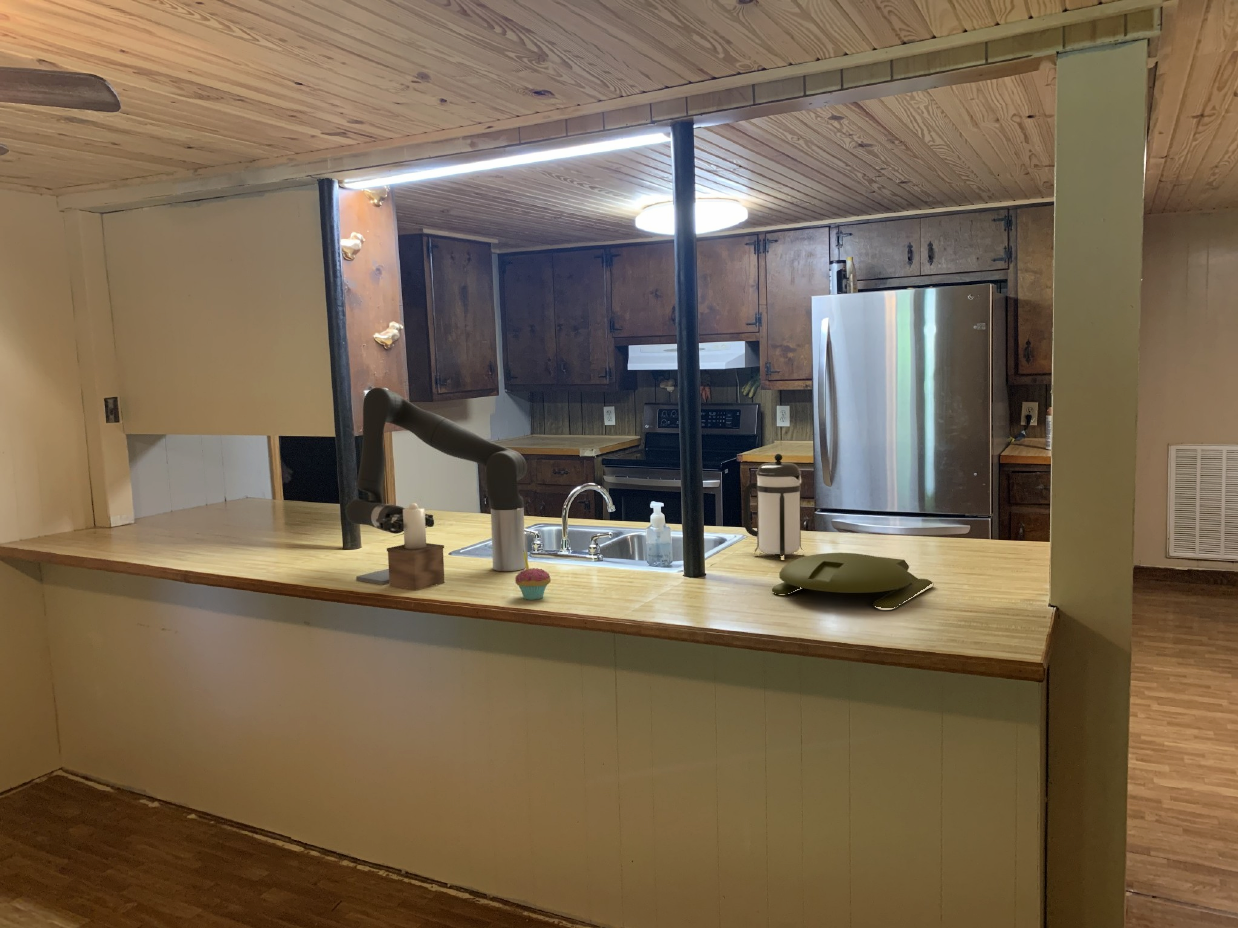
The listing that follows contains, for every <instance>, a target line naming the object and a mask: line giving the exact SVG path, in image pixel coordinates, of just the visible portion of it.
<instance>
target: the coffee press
mask: <svg viewBox="0 0 1238 928" xmlns="http://www.w3.org/2000/svg"><path fill="white" fill-rule="evenodd" d="M774 460H775V462H772V461H771V462H764V463H762V464H761V465H759V466H758V469H757V471H755V474H756V477H757V482H752V483H749V484H748V485H746V487H745V489H744V492H743V496H742V497H743V500H742V501H743V502H742V504H743V505H742V506H743V509H742V511H743V512H742V513H743V525H744V528H745V531H746V532H747V533H748V534H749V535H750V536H752V537H756V548H755V549H754V551H755V553H756V552H757V550H759V551H760V552H763V553H762V554H767V555H775V554H780V556H783V555H785V556H786V555H792V554H795V553H794V552H799V550H800V549H801V550H803V549H802V540H801V537H802V536H801V534H802V533H801V532H802V531H801V530H802V529H801V525H802V524H801V521H802V520H801V519H802V518H801V517H802V515H801V506H802V505H801V500H802V498H801V484H802V477H801V475H802V471H801V470H800V469H799V466H798V465H796V464H795V463H793V462H785V461H782V460H783V455H782V454H780V453H777V454H775V455H774ZM754 489H755V490H756V525H757V526H756V530H755V529H754V528H753V527H752V524H751V494H752V491H753V490H754ZM791 553H792V554H791ZM780 556H779V557H780Z"/></svg>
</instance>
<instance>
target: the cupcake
mask: <svg viewBox="0 0 1238 928" xmlns="http://www.w3.org/2000/svg"><path fill="white" fill-rule="evenodd" d="M523 551H524V549H523ZM523 554H524V559H525V565H526V567H525V569H522V571H521V570H520V571H519V572H518V573H517V575H516V576H515V580H514V581H515V584H516V585H517V586H518V587H519V589H520V591H521V594H522V597H523V599H524V600H531V601H532V600H539V599H542V598H543V597H544V595H545V591H546V587H547V586H548V585H549V584H551V581H552V579H551V576H550V573H548V572H547V571H546V570H544V569H542V568H538V567H537V568H530V567H529V562H528V561H527V556H526V552H524V553H523Z"/></svg>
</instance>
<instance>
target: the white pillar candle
mask: <svg viewBox="0 0 1238 928" xmlns="http://www.w3.org/2000/svg"><path fill="white" fill-rule="evenodd" d="M404 508H405V507H404ZM425 514H426V508H425V507H419V505H418V503H416V502H412V503H410V504H409V506H408V507H407V508H405V509H403V526H404V531H403V540H404V541H403V545H404V547H405V548H407V549H418V548H424V547H426V543H427V534H426V533H427V531H426V530H427V529H426V528H427V526H425Z"/></svg>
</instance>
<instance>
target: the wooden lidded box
mask: <svg viewBox="0 0 1238 928" xmlns="http://www.w3.org/2000/svg"><path fill="white" fill-rule="evenodd" d="M444 549H445V545H443V544H437V543H429V542H426V547H424V548H418V549H407V548H405V547H404V544H400V545H396V546H392V547H387V548H386V552H387V561H388V563H387V564H388V569H389V583H388V585H389V587H394V588H400V589H406V590H411V591H419V590H423V589H427V588H430V587H434V586H437V585H441V584H444V583H445V563H444V562H445V561H444ZM436 584H437V585H436Z"/></svg>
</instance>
